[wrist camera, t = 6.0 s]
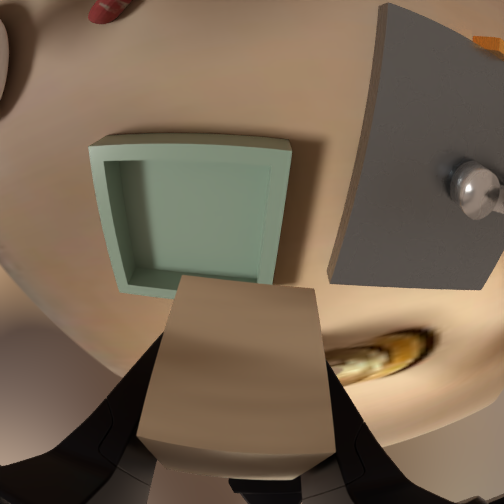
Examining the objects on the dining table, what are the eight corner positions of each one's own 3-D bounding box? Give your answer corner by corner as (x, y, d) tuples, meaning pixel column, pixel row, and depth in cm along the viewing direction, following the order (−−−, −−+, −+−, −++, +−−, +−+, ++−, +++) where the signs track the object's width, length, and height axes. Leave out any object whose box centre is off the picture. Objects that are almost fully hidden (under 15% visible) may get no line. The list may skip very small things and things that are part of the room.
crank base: (474, 280, 23) (487, 300, 21) (326, 271, 23) (332, 297, 20) (542, 87, 10) (565, 96, 8) (379, -7, 10) (399, -17, 8)
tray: (268, 285, 24) (268, 307, 22) (129, 272, 24) (119, 292, 22) (288, 139, 17) (292, 151, 15) (106, 135, 17) (88, 146, 14)
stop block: (288, 360, 11) (291, 479, 7) (188, 349, 11) (165, 468, 7) (314, 288, 9) (335, 452, 5) (182, 274, 9) (136, 435, 4)
